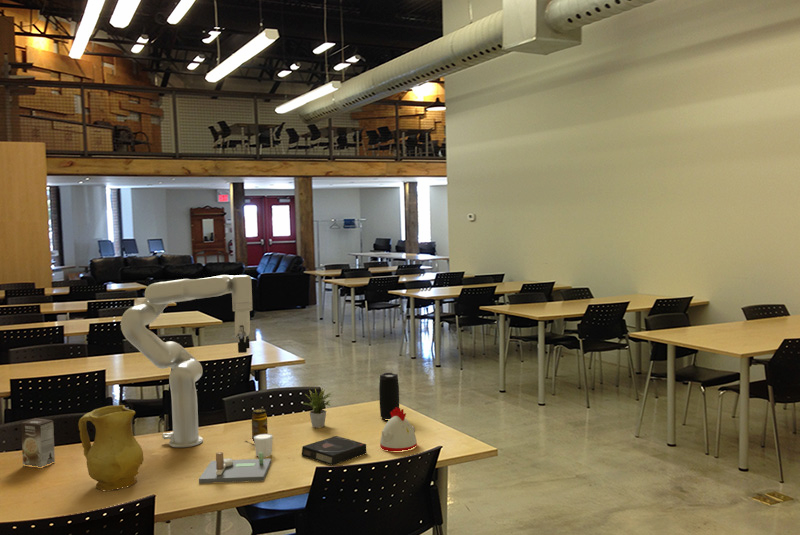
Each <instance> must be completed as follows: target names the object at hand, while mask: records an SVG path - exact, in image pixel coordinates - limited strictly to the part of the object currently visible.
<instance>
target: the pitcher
mask: <svg viewBox="0 0 800 535" xmlns="http://www.w3.org/2000/svg"><path fill="white" fill-rule="evenodd" d="M135 415H136V411H135V410H133V409H129V408H127V407H126V406H125V405H124V404H118V405H116V404H115V405H107V406H103V407H99V408H95V409H93V410H92V411H90V412H87V413H85V414H84V415H83V416H82V417H80V418H79V420H78V430H79V437H80V441H81V445H82V448H83V455H84V457H85V459H86V468H87V472H88V475H89V477H90V479H93V480H94V481H95V482H97V483H95V487H96V488H97V490H100V489H101V490H100V491H103V490H112V489H117V488H121V489H123V488H122V487H125V488H128V487H127V486H129V487H131V486H133V485H135V484H136V483H137V482H138V480H137V478H136V476H137V475H139V473H140V472H139V469H140V467H141V465H142V464H143V462H144V451H143V449H142V447H141V445H140V443H139V442H138V440H136V438H135V436H134V434H133V430H132V418H133V417H134V416H135ZM87 422H91V423H92V425H93V426H94V428H95V436H94V441H93V443H92V444H91V440H90V436H89V433H88V430H87ZM130 485H131V486H130ZM112 491H113V490H112Z"/></svg>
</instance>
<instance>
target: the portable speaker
mask: <svg viewBox="0 0 800 535" xmlns="http://www.w3.org/2000/svg"><path fill="white" fill-rule="evenodd" d="M398 377H399V376H398V374H397V373H392V372H383V373H382V374H380V375H379V387H378V388H379V390H378V391H379V393H378V394H379V396H378V397H379V399H378V400H379V411H380V412H379V414H380V418H381V417H382V418H383V420H384V419H391V418H392V417H391V414H390V412H393V409H395V407H398V408H400V386H399V385H400V383H399V378H398Z"/></svg>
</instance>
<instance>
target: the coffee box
mask: <svg viewBox="0 0 800 535" xmlns="http://www.w3.org/2000/svg"><path fill="white" fill-rule="evenodd" d="M20 425H21V426H20V427H21V447H22V448H21V450H22V451H21V452H22V454H21V455H22V465H23V464H25V465H32V466H38V467H42V466H45V465H47V464H50V463H52V462H55V463H56V460H55V459H56V458H55V435H54V433H55V431H54V420H52V419H45V418H36V417H35V418H32V419H28V420H26V421H23V422H21V423H20Z"/></svg>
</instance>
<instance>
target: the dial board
mask: <svg viewBox="0 0 800 535" xmlns="http://www.w3.org/2000/svg"><path fill="white" fill-rule="evenodd" d="M271 464H272V458H264V457H263V453H262V452H261V453H259V457H258V458H250V459H249V458H247V459H233V465H232V466H229V467H225V469H224V471H223V472H222V474H221V475H216V471H217V469H216V460H211V461H209V464H208V466H206V468H205V469H204V470H203V471H202V472H203V473H202V474H201V475H200V476H199V478H198V484H214V483H213V482H225V483H245V481H250V482H264V480H265V478H266V476H267V474H268V472H269V470H270V467H271Z"/></svg>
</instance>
